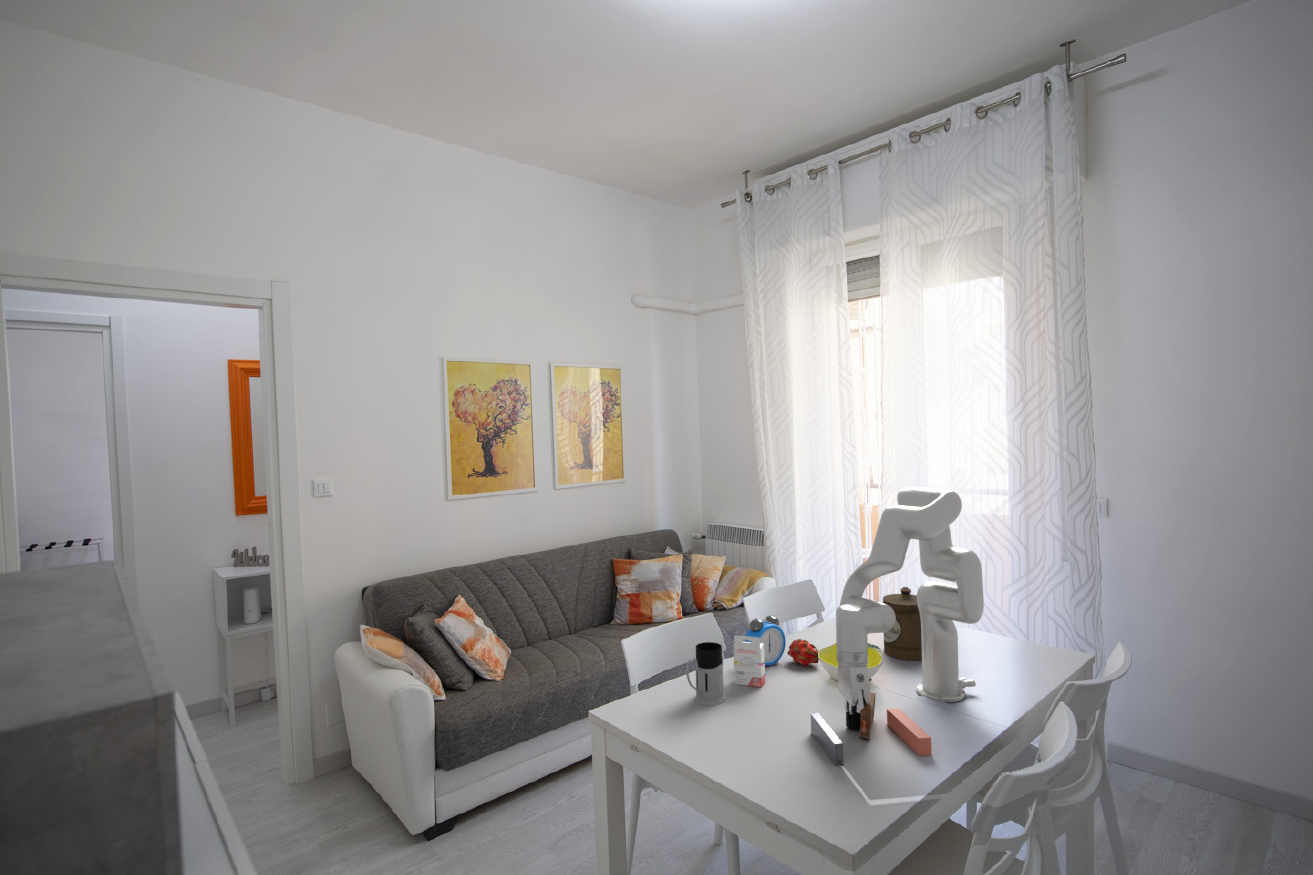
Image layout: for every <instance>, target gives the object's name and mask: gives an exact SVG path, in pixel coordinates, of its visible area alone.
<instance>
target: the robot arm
mask: <svg viewBox="0 0 1313 875" xmlns="http://www.w3.org/2000/svg"><path fill="white" fill-rule="evenodd" d="M896 500H897V504H898V505H891V506H887V507H886V508H885V509H884V510H883V511H882V513H881V516H880V520H879V523H878V526H877V530H876V534H875V537H874V541H873V544H872V547H871V551H870V554H869V556H868V557H867V559H866V560H865V561H863V562H862V563H860V565H859V566H857V567H856V569H855V570H854V571H853V572H852V573H851V574H850V576H849V577H848V578H847V580H846V582H845V584H844V586H843V587H844V588H843V591H842V593H841V597H840V601H839V606H838V607H837V608H836V611H835V628H836V629H835V632H836V634H835V637H836V639H835V640H836V644H835V645H836V662H837V663H838V664H837V667H838V668H837V669H838V670H837V686H838V692H839V694H840V695H841V696H842V697H843V699H844V707H845V708H844V709H845V722H846V723H845V726H846V728H847V729H848V730H850V731H852V730H853V731H855V730H860V726H861V720H860V716H861V710H862V709H863V708H864V706H863V701H864V702H865V703H866V704H867V705H870V704H871V696H870V692H871V686H870V685H871V682H870V675H869V669H868V668H869V667H868V664H869V648H868V645H869V644H868V643H869V642H868V641H869V640H868V635H869V634H882V633H883V632H886V631H888V630H890V629H891V628H892V627H893V625H894V623H895V620H896V616H895V612H894V610H893V609H892V608H891V607H890V606H889V605H887V604H884V603H883V602H880V601H877V600H874V599H869V598H865V597H863V595H864V593H865V591H866V588H867V587H868V586H869V585H870V584H871V583H872V582H873V581H874V580H876V579H878V578H880V577H883V576H886V575H889V574H892V573H895V572H899V571H901V570H902V568H904V567H903V566H904V564H905V559H906V554H907V553H908V549H909V544H910V541H911V540H916V541H917V540H918V544H919V545H918V547H919V548H918V550H919V562H920V568H921V571H922V573H923V574H924V575H925V576H927V577H928V578H933V579H936V580H940V581H941V580H942V581H946V582H951V583H955V584H956V585H955V584H951V583H945V582H940V581H931V580H930V581H926V582H923V583H922V584H921V585H920V586H919V587H918V589H917V591H916V595H917V604H918V608H919V613H920V618H921V636H922V637H921V639H922V660H921V675H922V676H921V677H922V678H921V681H922V682H920V683H918V684H917V685H916V692H917V693H918V695H920V696H921V697H926V698H929V699H932V700H938V701H942V702H945V703H956V702H961V701H963V700H964V699H965V698H966V692H965V690H964V689H966V688H973V687H976V681H975V679H966V677H959V676H960V675H959V671H960V670H959V635H958V630H957V627H956V625H955V623H954V621H955V622H957V623H962V624H969V625H973V624H977V623H978V622H979V621H980V620H981V618H982V616H983V614H984V607H985V606H984V605H985V604H984V603H985V602H984V600H985V599H984V597H985V596H984V581H983V570H982V569H983V568H982V562H981V560H980V558H979V556H978V555H977V553H976V552H974V551H973V550H971V549H968V548H963V547H957V546H954V545H953V542H952V533H951V532H952V531H951V525H952V524H953V523H954V522H955V521H956V520H957V518H959V516H960V514H961V512H962V508H963V503H962V498H961V496H960V495H959V494H958V493H957V492H956V491H954V490H952V489H951V490H950V489H946V488H945V489H944V488H935V487H934V488H933V487H932V488H931V487H919V486H909V487H904V488H902V489H900V490H899V492H898V493H897V498H896Z"/></svg>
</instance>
